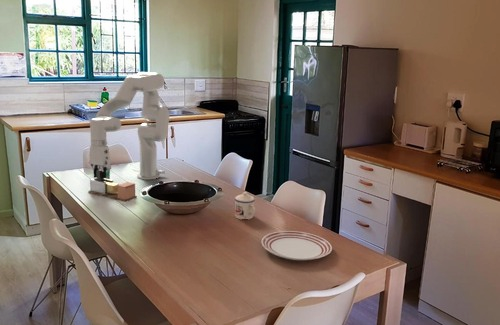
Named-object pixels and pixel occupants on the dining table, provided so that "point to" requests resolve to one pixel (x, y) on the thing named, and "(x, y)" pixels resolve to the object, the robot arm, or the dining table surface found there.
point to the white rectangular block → (98, 185)
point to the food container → (106, 172)
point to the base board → (112, 196)
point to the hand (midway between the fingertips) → (100, 177)
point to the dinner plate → (296, 245)
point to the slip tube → (107, 183)
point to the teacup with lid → (244, 206)
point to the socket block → (126, 190)
